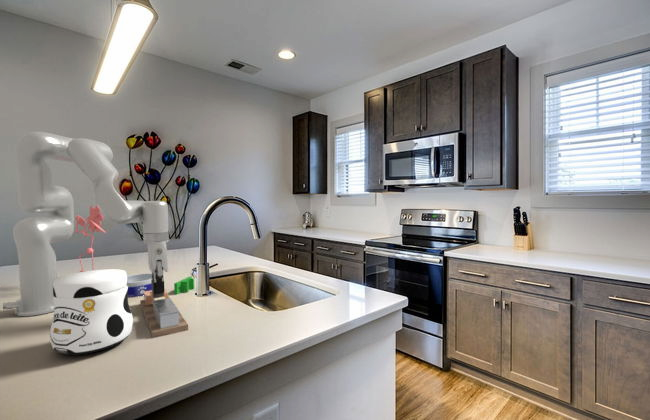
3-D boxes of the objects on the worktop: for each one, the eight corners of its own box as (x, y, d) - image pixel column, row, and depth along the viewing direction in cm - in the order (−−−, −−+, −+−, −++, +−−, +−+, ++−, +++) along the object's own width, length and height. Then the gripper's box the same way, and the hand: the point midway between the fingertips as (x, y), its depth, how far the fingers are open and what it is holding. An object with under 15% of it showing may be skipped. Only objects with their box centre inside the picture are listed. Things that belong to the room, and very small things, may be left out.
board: (188, 329, 93) (188, 324, 93) (152, 337, 88) (152, 332, 88) (168, 299, 121) (168, 295, 120) (140, 304, 115) (140, 300, 115)
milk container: (38, 368, 73) (34, 288, 72) (64, 337, 89) (61, 272, 88) (128, 352, 80) (125, 279, 79) (137, 326, 96) (135, 266, 95)
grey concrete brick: (179, 325, 92) (179, 310, 92) (160, 329, 90) (160, 314, 90) (170, 310, 104) (170, 297, 104) (153, 314, 102) (153, 300, 102)
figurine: (92, 291, 133) (91, 205, 132) (65, 283, 147) (64, 205, 146) (131, 283, 146) (130, 205, 145) (103, 276, 160) (102, 205, 159)
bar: (172, 319, 97) (171, 287, 96) (161, 321, 95) (160, 288, 94) (162, 301, 113) (161, 274, 113) (152, 303, 111) (151, 275, 111)
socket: (168, 301, 114) (167, 292, 114) (146, 305, 110) (145, 296, 110) (164, 296, 120) (164, 288, 120) (143, 300, 116) (143, 291, 116)
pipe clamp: (183, 295, 127) (183, 283, 127) (174, 295, 127) (174, 283, 127) (198, 287, 138) (197, 276, 138) (189, 286, 139) (189, 276, 138)
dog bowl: (127, 300, 121) (127, 284, 121) (107, 294, 129) (106, 279, 129) (166, 290, 134) (165, 275, 134) (145, 285, 142) (144, 271, 142)
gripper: (172, 239, 104) (174, 296, 105) (164, 234, 118) (166, 284, 119) (146, 241, 100) (148, 300, 100) (141, 236, 114) (142, 288, 114)
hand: (158, 291), depth 110 cm, fingers closed on bar, 4 cm apart
